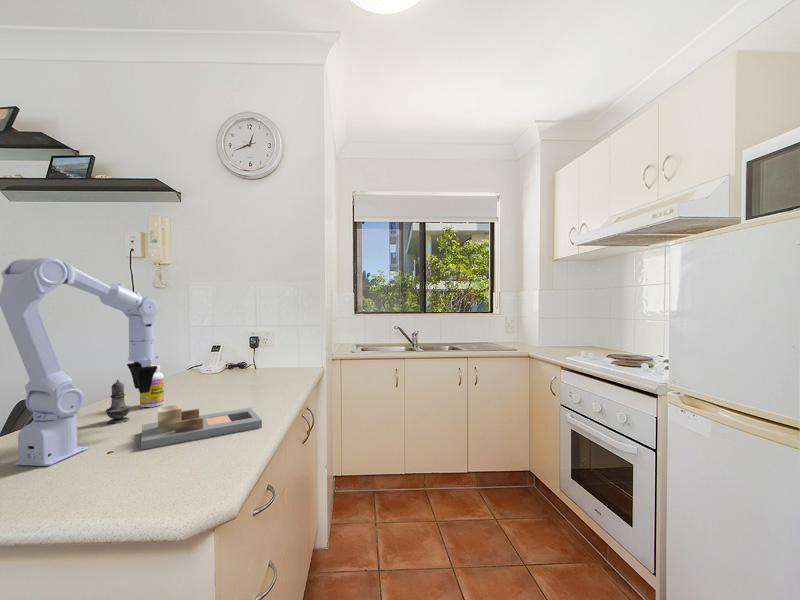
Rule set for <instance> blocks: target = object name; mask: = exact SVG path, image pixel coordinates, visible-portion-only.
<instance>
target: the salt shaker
mask: <svg viewBox="0 0 800 600" xmlns="http://www.w3.org/2000/svg"><path fill="white" fill-rule="evenodd" d="M124 385H125V384H124V383H123V382H120V380H119V379H116V381H115V382H114V383H113V384H111V395H110V396H109V397H110V399H111V404H110V407H108V408H107V409H105V413H106V415H107V417H108V418H110V419H109V420H107V422H106V424H108V425H117V424H116V423H118V424H123V423H126V422H129V421H130V420H129V419H130V418H129V417H126V416H127V415H128V414H129V412H130V409H131V406H130V405H126V402H125V396H126V394H125V386H124ZM128 420H129V421H128ZM125 421H126V422H125ZM122 422H123V423H122Z"/></svg>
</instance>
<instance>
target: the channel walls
mask: <svg viewBox="0 0 800 600" xmlns="http://www.w3.org/2000/svg"><path fill="white" fill-rule="evenodd" d="M181 415H182V421H175V431H176V433H179V432H184V431H190V430H196V429H202V428H203V417H200V418H199V416H200V409H199V408H194V409H189V410H188V409H187V410H181Z"/></svg>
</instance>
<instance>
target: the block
mask: <svg viewBox="0 0 800 600" xmlns="http://www.w3.org/2000/svg"><path fill="white" fill-rule="evenodd" d="M181 411H182V406H181V404H174V405H169V406H160V407H159V406H158V407H157V422H158V433H160V432H166V431H172V430H175V421H182V415H181Z"/></svg>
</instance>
